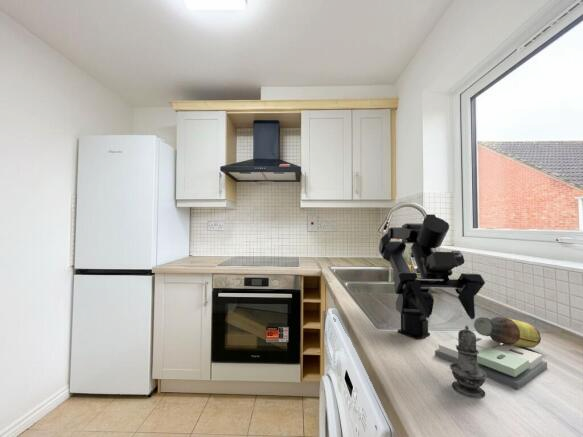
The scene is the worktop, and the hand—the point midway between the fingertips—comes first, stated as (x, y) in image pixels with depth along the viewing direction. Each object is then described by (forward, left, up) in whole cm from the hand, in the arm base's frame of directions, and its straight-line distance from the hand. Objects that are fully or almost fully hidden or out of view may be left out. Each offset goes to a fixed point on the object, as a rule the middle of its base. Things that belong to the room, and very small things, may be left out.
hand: (450, 317), depth 57 cm
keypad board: (+2, +13, -11) cm, 17 cm away
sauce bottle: (+3, +31, -9) cm, 32 cm away
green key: (+6, +9, -12) cm, 16 cm away
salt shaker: (+5, -3, -12) cm, 13 cm away
